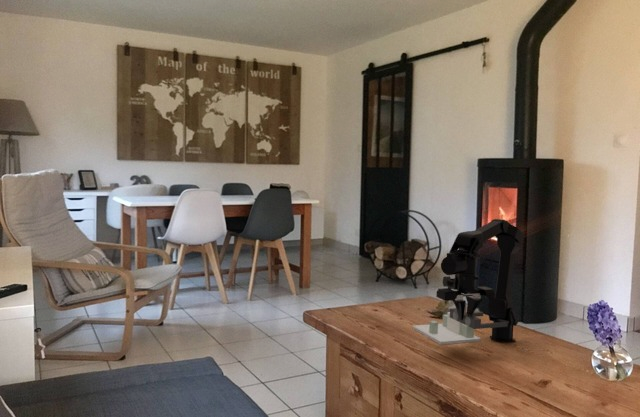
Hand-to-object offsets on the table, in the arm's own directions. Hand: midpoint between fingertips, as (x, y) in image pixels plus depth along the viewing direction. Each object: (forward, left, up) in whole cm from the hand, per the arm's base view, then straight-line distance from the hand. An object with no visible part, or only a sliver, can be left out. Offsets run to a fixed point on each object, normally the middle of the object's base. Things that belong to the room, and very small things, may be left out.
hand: (464, 319), depth 175 cm
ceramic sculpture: (-19, -40, -11) cm, 45 cm away
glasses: (-5, 0, -1) cm, 5 cm away
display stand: (-5, -19, -11) cm, 22 cm away
